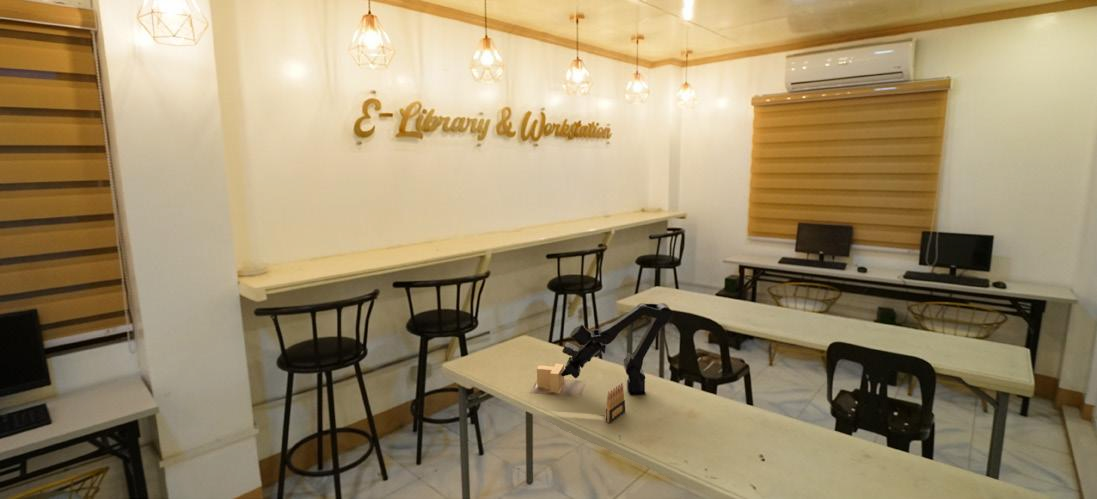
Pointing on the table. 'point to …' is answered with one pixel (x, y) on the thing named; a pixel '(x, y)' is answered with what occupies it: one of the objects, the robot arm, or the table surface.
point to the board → (562, 389)
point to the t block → (550, 377)
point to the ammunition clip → (615, 404)
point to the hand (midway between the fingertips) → (562, 375)
